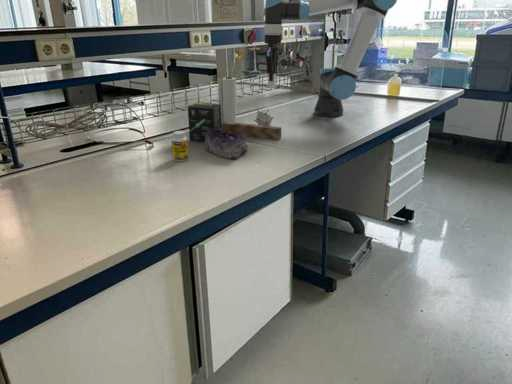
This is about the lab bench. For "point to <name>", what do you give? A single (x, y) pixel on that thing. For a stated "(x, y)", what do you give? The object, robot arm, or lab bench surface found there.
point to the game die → (264, 118)
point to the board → (253, 130)
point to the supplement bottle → (179, 146)
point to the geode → (225, 143)
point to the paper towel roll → (227, 99)
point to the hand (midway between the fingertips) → (271, 87)
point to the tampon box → (203, 120)
